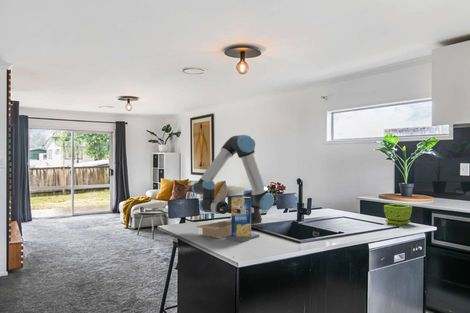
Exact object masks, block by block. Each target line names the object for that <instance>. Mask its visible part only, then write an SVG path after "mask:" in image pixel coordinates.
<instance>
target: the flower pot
mask: <svg viewBox="0 0 470 313" xmlns="http://www.w3.org/2000/svg"><path fill="white" fill-rule="evenodd" d="M383 212H384V215H385V218H386V219H385V220H384V221H385V222H386V223H388V224H391V225H396V226H402V225H407V224H410V223H411V220H410V218H411V215H412V212H413V206H412V205H407V204H399V203H398V204H397V203H391V204H385V205H383Z"/></svg>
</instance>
